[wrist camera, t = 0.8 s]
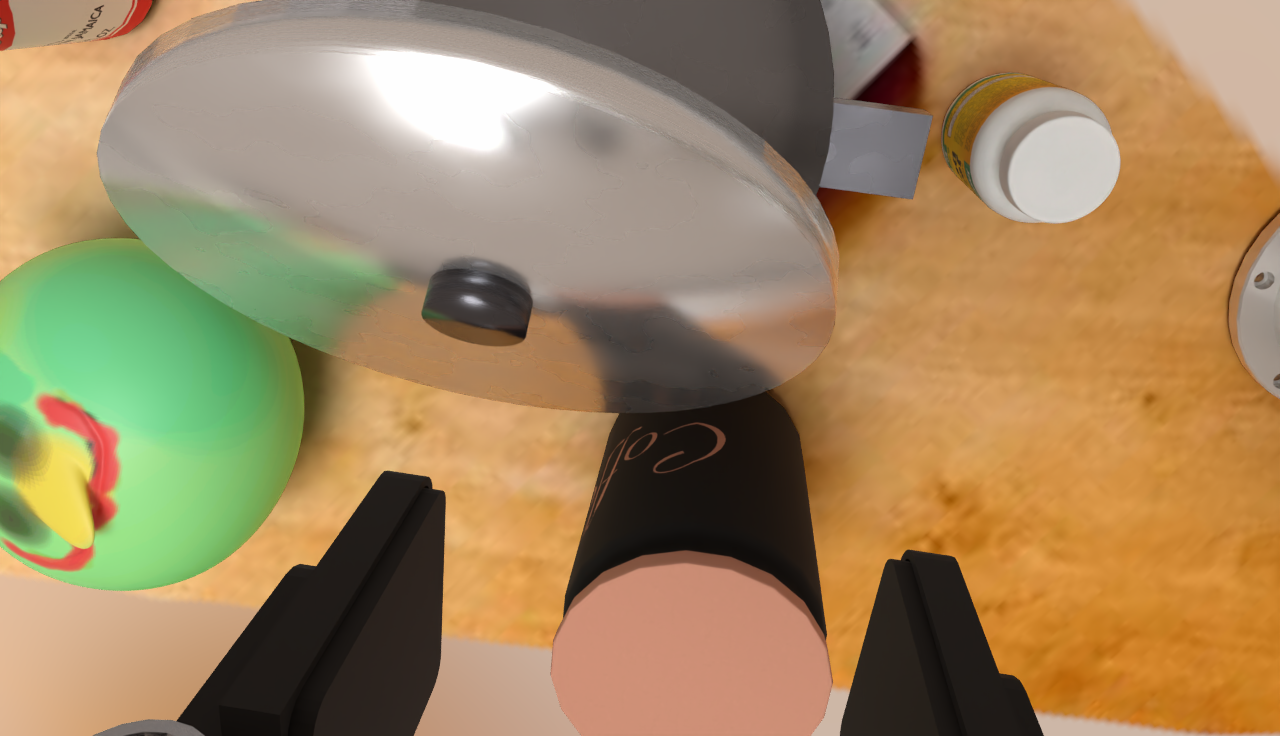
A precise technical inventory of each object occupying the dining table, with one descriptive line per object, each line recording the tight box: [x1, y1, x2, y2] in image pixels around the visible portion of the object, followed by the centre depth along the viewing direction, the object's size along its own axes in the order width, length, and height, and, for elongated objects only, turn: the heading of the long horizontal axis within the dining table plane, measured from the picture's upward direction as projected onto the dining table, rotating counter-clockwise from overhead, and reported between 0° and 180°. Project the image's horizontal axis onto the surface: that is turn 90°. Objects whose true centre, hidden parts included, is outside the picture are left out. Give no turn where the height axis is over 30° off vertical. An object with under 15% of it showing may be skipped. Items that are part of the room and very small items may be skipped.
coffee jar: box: [551, 392, 833, 736], centre depth 42 cm, size 11×11×18 cm
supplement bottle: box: [941, 73, 1120, 223], centre depth 38 cm, size 5×5×10 cm
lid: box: [97, 0, 839, 413], centre depth 26 cm, size 20×20×2 cm
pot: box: [192, 0, 933, 199], centre depth 38 cm, size 27×20×12 cm
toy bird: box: [0, 238, 304, 591], centre depth 45 cm, size 18×17×15 cm
